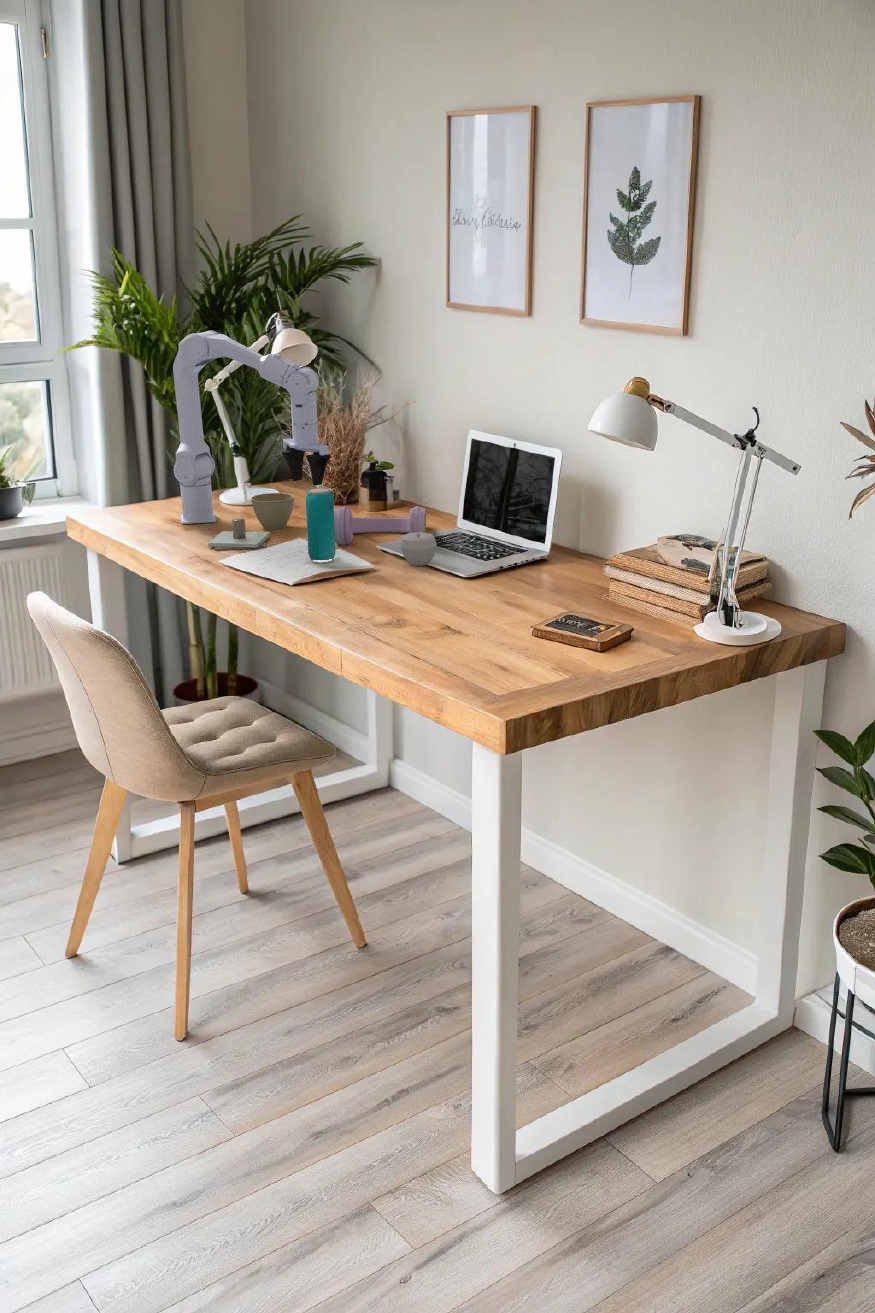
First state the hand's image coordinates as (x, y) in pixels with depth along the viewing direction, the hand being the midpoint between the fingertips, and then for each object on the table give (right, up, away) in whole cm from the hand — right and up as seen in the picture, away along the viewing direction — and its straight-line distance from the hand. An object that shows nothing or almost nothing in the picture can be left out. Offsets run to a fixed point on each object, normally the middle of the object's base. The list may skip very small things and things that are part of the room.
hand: (307, 482), depth 287 cm
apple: (+26, -21, -29) cm, 44 cm away
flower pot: (-8, -10, +4) cm, 13 cm away
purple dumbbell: (+18, -14, -6) cm, 23 cm away
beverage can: (+6, -20, -25) cm, 33 cm away
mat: (-14, -15, -10) cm, 23 cm away
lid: (-14, -14, -10) cm, 22 cm away
